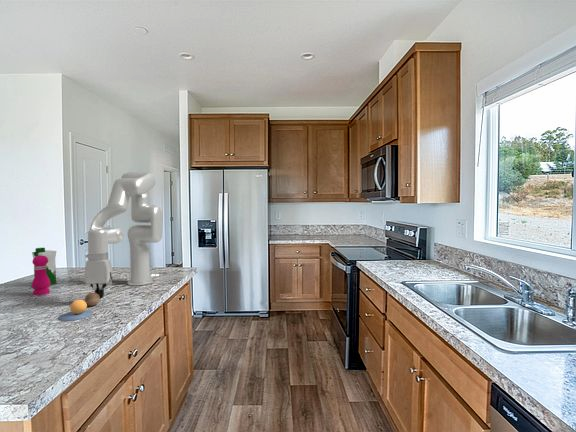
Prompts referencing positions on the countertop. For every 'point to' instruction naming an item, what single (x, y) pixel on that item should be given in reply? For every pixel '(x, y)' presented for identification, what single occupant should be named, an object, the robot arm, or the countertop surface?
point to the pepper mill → (40, 275)
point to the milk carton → (50, 265)
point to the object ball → (78, 306)
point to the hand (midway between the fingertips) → (99, 298)
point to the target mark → (74, 316)
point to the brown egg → (92, 299)
